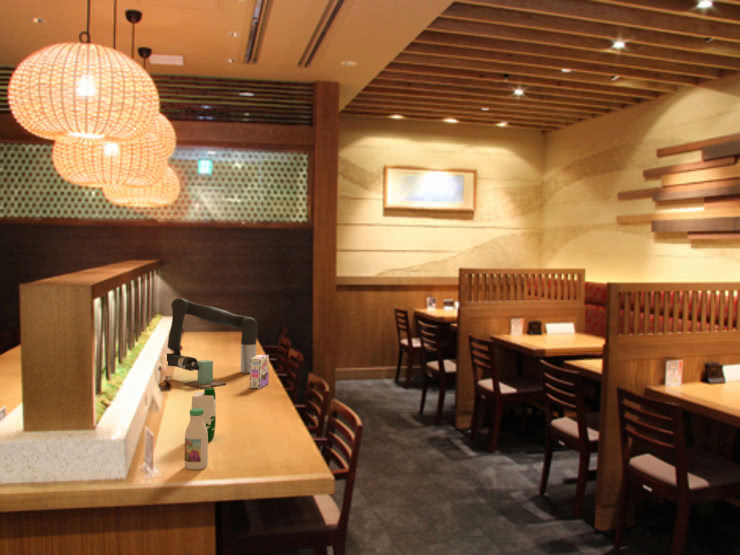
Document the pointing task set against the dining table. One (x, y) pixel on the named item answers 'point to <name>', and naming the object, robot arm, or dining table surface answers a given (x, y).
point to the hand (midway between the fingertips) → (204, 367)
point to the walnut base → (201, 386)
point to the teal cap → (205, 372)
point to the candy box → (259, 371)
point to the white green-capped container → (207, 408)
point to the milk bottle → (196, 441)
